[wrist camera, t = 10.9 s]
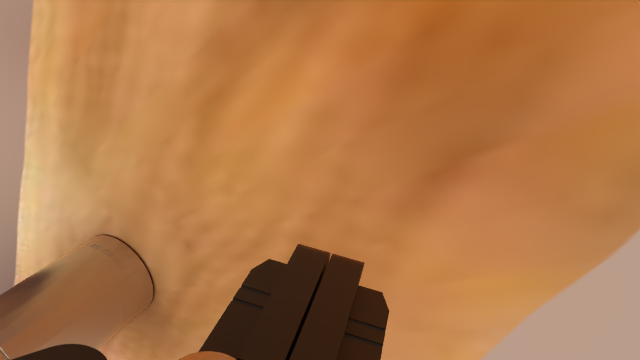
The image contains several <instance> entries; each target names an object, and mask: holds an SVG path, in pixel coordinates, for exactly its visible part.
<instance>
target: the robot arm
mask: <svg viewBox="0 0 640 360" xmlns="http://www.w3.org/2000/svg"><path fill="white" fill-rule="evenodd" d="M329 260H330V261H329ZM363 267H364V263H363V262H360V261H356V260H353V259H350V258H346V257H343V256H339V255H336V254H332V256H331V258H330V253H328V252H325V251H322V250H318V249H315V248H311V247H308V246H304V245H301V244H298V245H297V247H296V249H295V251H294V252H293V254H292V256H291V258H290V260H289V262H288V264H284V263H281V262H278V261H274V260H271V259H268V260H267V261H265V262H263V263H262V264H260V265H258V266H257V267H255V268H253V269H252V270H251V271H250V273H249V274H248V276H247V278H246V279H245V281H244V282H243V284H242V286H241V288H239V290H238V291H237V293H236V295H235V296H234V298H233V301H231V302H230V304H229V305H228V307H227V309H226V310H225V312H224V313H223V315H222V316H221V318H220V319H219V321H218V323H217V324H216V326H215V327H214V329H213V330H212V332H211V333H210V335H209V337H208V338H207V340H206V341H205V343H204V344H203V346H202V347H201V349H200V350H199V352H197V353H192V354H190V355H187V356H185V357H183V358H181V359H179V360H380V359H381V353H382V346H383V342H384V336H385V330H386V325H387V319H388V314H389V310H388V307H387V304H386V301H385V299H384V296H383V293H382V292H379V291H375V290H372V289H369V288H365V287H362V286H359V282H360V278H361V274H362V271H363ZM152 299H153V285H152V280H151V278H150V275H149V273H148V271H147V269H146V267H145V266H144V264H143V262H142V261H141V260H140V258H139V257H138V256H137V255H136V254H135V253H134V252H133V251H132V250H131V249H130V248H129V247H128V246H127V245H125V244H124V243H123V242H121V241H119V240H117V239H116V238H113V237H110V236H106V235H99V236H95V237H93V238H92V239H90V240H88V241H87V242H85V243H83V244H82V245H80V246H79V247H77V248H75V249H74V250H72V251H70V252H69V253H67V254H66V255H64V256H62V257H60V258H59V259H57V260H56V261H54V262H52V263H51V264H49V265H48V266H46V267H44V268H43V269H41V270H39V271H38V272H36V273H35V274H33V275H31V276H30V277H28V278H27V279H25V280H23V281H22V282H20V283H19V284H17V285H15V286H14V287H12V288H10V289H9V290H7V291H6V292H4V293H2V294H1V295H0V360H107V359H106V357H105V356H104V355H103V354H102V353H101V352H100V351H98V349H99V348H100V347H101V346H102V345H103V344H105V343H106V342H107V341H108V340H109V339H111V338H112V337H113V336H114V335H115V334H116V333H118V332H119V331H120V330H121V329H122V328H124V327H125V326H126V325H127V324H128V323H129V322H131V321H132V320H133V319H134V318H135V317H136V316H137V315H139V314H140V313H141V312H142V311H143V310H144V309H146V308H147V307H148V306H149V305H150V303H151V302H152Z"/></svg>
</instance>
